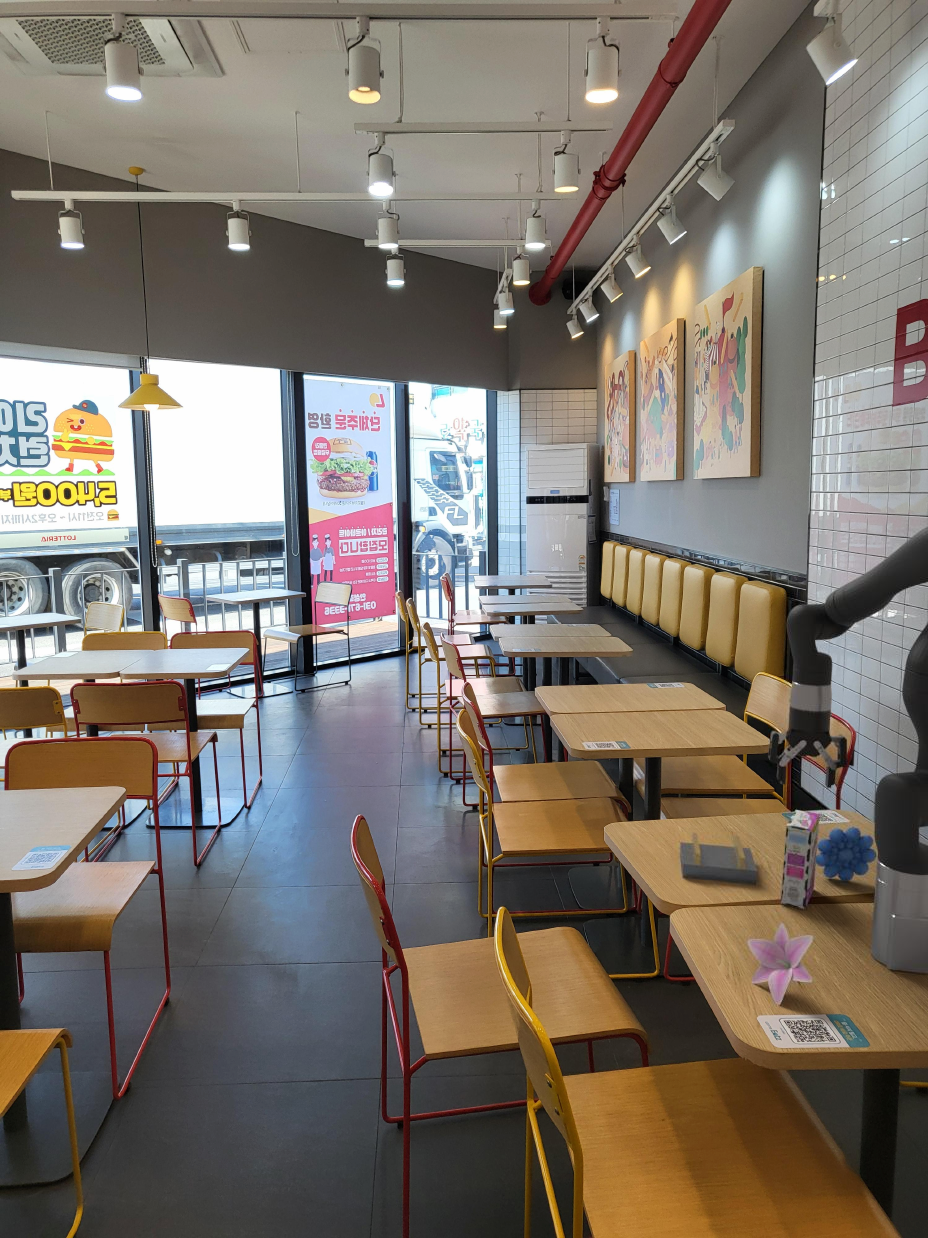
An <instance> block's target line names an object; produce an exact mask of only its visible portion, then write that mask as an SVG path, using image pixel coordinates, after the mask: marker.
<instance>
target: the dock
mask: <svg viewBox="0 0 928 1238" xmlns="http://www.w3.org/2000/svg"><path fill="white" fill-rule="evenodd" d="M698 838H699V837H698V833H697V832H692V833H691V843H690V842H680V843H679V859H680V860H679V861H680V867H681V875H682V878H685V879H693V880H694V879H696V880H704V881H705V880H706V881H717V882H727V883H738V884H747V885H757V883H758V882H757V881H758V868H757V865H756V863H755V859H754V856H753V854H752V851H751V848H750V847H749V848H748V847H743V845H742V843H741V839H740V836H733V846H725V845H716V844H715V845H714V844H705V843H700V842H699V839H698Z"/></svg>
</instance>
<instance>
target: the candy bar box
mask: <svg viewBox="0 0 928 1238" xmlns="http://www.w3.org/2000/svg"><path fill="white" fill-rule="evenodd" d="M820 818H821V817H820V813H815V812H810V811H805V810H798V809H795V811H794V812H793V814H792V816H791V817H790V819H789V820H788V821H787V823H786V826H785V829H786V830H785V841H784V854H783V869H782V883H781V897H780V904H781V905H784V906H788V907H792V908H795V907H797V908H796V909H799V908H801V909H800V910H804V909H805V910H806V909H807V906H808V903H809V901H810V900H811V896H812V894H813V891H814V889H815V878H816V877H815V875H816V865H817V864H816V856H817V854H818V853H817V851H818V848H817V845H818V842H819V841H818V839H819V824H820Z"/></svg>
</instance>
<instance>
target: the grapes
mask: <svg viewBox="0 0 928 1238" xmlns="http://www.w3.org/2000/svg"><path fill="white" fill-rule="evenodd" d="M828 838H829V839H828ZM828 838H822V839H820V840H819V841H818V842H817V851H819V853H816V865H817V866H819V867H823V870H822V872H823V875H824V876H825V877H826V878H828V879H832V878H835V877H838V879H839V880H840V881H843V882H849V881H852V879H853V877H854V876H856V875H857V876H863V875H867V874H868V871H869V869H870V868H869V867H870V865H869V863H873V862H874V861H875V860H876V858H878V854H877V852H876V850H875V849H874V848H872V846H873V844H874V839H873V837H872V836H871V835H869V834H862V832H861V830H860V829H859V828H858V827H855V826H850V827H849V828H846V830H845V832H844V830H843V829H841V828H835V829H832V830H831V831H830V832H829V834H828Z"/></svg>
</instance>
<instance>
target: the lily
mask: <svg viewBox="0 0 928 1238" xmlns="http://www.w3.org/2000/svg"><path fill="white" fill-rule="evenodd" d="M788 934H789V933H788V932H787V929H786V925H785V924H784V923H783V922H781V923H780V924H779V926H778V928H777V930H776V932H775V934H774V937H773V940H769V939H763V938H750V939H748V940H747V944H748V947H749V949H750V951H751V953H752V954H753V956H754V957H755V959H756V961H758V962H759V963H760V966H759V967H758V968H757V969H756V971H755V973H754V975H753V976H752V978H751V983H752V984H760V983H765V982H768V983H767V984H768V987H769V991H770V994H771V997H772V999H773V1001H774V1003H775V1004H776V1005H778V1006H780V1005H781V1003H782V1001H783V999H784V997H785V993H786V990H787V988H788V987H789V985H790V982H791V981H795V982H797V983H800V982H802V983H812V982H813V978H812V976H811V974H810V973H809V972H808V970H807V968H806V967H805V966H804V965H803V964H802V962H801V960H802V958H803V957H804V955H805V953H806V952H807V950H808V949H809V947H810V945H812V942H813V941H814V936H813V935H811V934H809V935H806V934H805V935H800V936H795V937H791V938H789V937H790V936H789V935H788Z"/></svg>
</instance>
